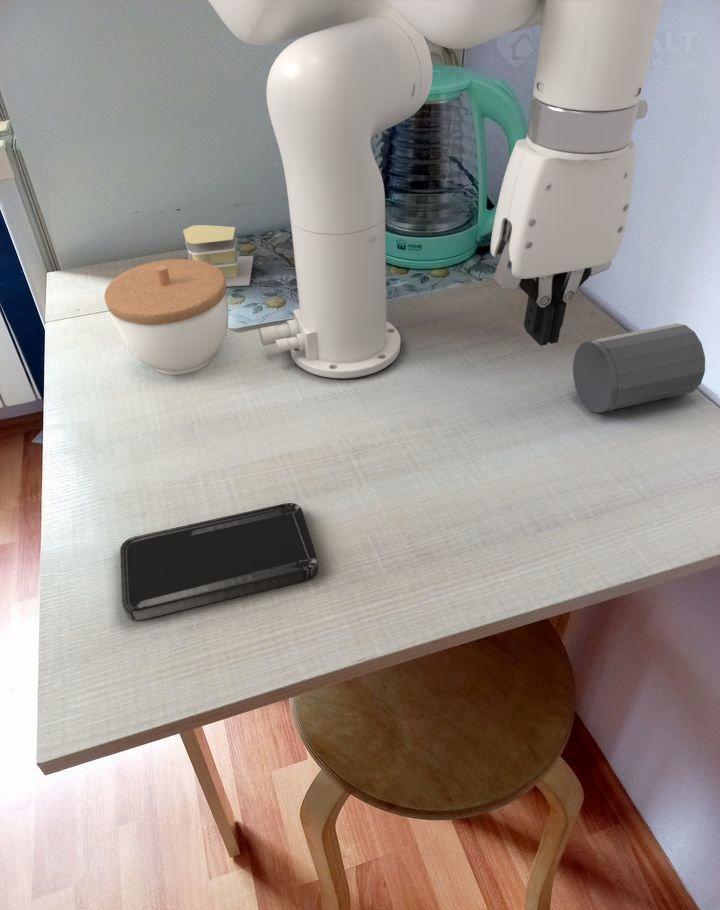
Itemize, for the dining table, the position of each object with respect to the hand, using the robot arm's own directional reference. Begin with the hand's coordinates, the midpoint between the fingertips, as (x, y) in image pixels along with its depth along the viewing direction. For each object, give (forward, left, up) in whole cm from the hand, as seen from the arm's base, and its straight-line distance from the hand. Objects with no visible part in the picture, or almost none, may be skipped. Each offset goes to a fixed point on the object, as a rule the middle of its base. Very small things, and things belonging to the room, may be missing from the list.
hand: (540, 336), depth 64 cm
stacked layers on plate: (-24, +43, -9) cm, 51 cm away
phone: (-32, -9, -9) cm, 35 cm away
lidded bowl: (-31, +23, -9) cm, 40 cm away
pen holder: (+6, -1, -6) cm, 8 cm away
